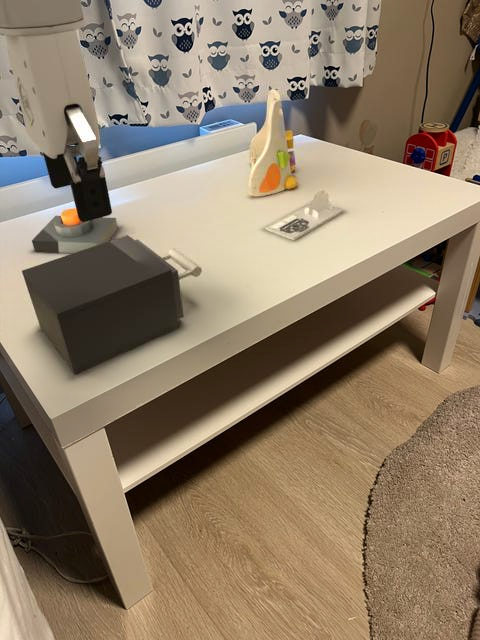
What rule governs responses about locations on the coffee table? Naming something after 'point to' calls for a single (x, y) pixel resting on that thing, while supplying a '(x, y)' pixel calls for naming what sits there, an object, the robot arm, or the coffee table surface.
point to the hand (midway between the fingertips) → (80, 200)
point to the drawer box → (102, 301)
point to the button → (70, 217)
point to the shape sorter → (272, 153)
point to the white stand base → (305, 218)
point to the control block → (74, 235)
